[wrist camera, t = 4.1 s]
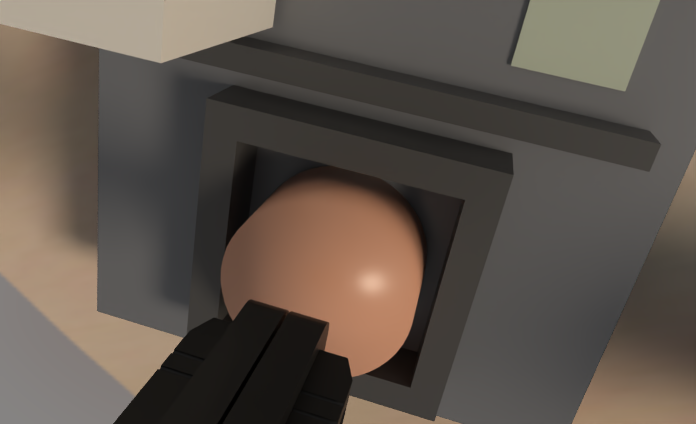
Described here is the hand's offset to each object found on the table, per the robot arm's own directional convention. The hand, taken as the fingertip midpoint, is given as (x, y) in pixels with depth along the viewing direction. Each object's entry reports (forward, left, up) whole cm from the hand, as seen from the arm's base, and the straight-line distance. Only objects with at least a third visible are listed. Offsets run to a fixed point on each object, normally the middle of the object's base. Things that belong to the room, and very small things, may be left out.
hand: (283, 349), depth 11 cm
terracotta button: (0, 0, -5) cm, 5 cm away
